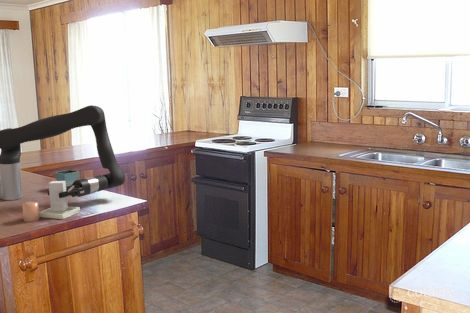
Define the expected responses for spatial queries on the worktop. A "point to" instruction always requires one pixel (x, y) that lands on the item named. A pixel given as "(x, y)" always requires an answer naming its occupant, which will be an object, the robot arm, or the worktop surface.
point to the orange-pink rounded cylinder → (31, 211)
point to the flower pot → (67, 176)
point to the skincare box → (57, 195)
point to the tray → (59, 213)
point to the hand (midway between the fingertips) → (53, 194)
